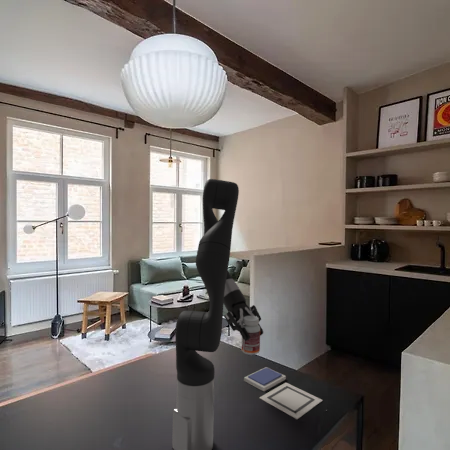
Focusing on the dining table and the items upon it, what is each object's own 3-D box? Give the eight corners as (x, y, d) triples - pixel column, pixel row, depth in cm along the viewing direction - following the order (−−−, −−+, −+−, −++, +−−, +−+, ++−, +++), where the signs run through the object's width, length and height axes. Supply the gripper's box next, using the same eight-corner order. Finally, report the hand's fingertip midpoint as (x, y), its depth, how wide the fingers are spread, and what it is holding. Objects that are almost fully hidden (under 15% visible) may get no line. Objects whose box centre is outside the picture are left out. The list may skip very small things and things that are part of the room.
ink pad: (263, 391, 102) (264, 386, 102) (244, 380, 109) (244, 376, 109) (285, 379, 110) (285, 374, 110) (266, 370, 117) (266, 365, 117)
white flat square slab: (297, 419, 88) (297, 418, 88) (259, 398, 98) (259, 397, 98) (322, 400, 98) (322, 399, 98) (285, 383, 108) (285, 382, 108)
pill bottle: (263, 352, 104) (264, 319, 104) (248, 356, 101) (249, 322, 100) (251, 346, 109) (252, 314, 109) (237, 349, 106) (238, 316, 105)
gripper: (221, 291, 105) (246, 337, 96) (249, 286, 115) (274, 326, 106) (210, 303, 109) (233, 348, 100) (239, 297, 119) (262, 337, 110)
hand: (254, 336), depth 103 cm, fingers closed on pill bottle, 6 cm apart
